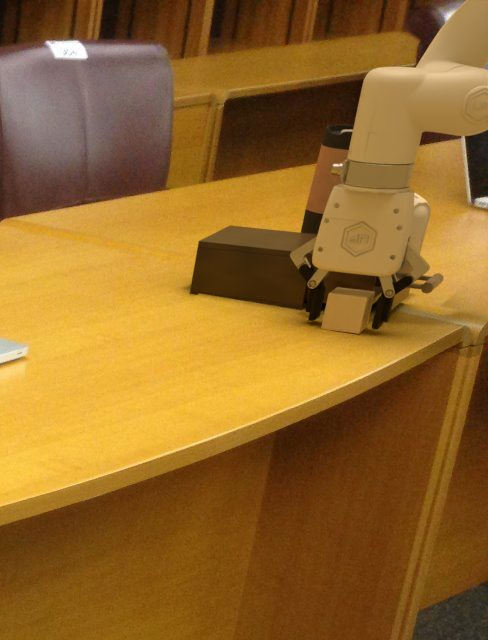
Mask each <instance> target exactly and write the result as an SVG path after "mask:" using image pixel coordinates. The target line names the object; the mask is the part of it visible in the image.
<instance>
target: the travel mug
mask: <svg viewBox="0 0 488 640" xmlns="http://www.w3.org/2000/svg"><path fill="white" fill-rule="evenodd" d="M353 128H354V124H329V125H326V127H325V130H324V133H323V137H322V141H321V145H320V149H319V154H318V157H317V161H316V166H315V169H314V173H313V178H312V181H311V185H310V189H309V192H308V193H309V194H308V198H307V201H306V205H305V210H304V214H303V218H302V225H301V229H300V233H309V234H318V231H319V228H320V224H321V221H322V217H323V214H324V211H325V208H326V205H327V202H328V199H329V197H330V194H331V192H332V189H333V187H334V186H336V185H339V184H342V182H341V178H340V176H337V175H334V174H331V170H332V166H333V164H334V163H339V164H340V163H343V162H344V161H345V160H346V159H347V157H348V152H349V147H350V142H351V137H352V133H353Z"/></svg>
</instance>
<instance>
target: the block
mask: <svg viewBox="0 0 488 640" xmlns="http://www.w3.org/2000/svg"><path fill="white" fill-rule="evenodd" d="M374 294H375V292H374V291H366V290H358V289H349V288H341V287H337V288H335V289H334V290H333V291H331V292H330V293H329V294H328V299H327V303H325V308H324V313H323V316H322V317H323V318H322V323H321V327H320V329H321V330H327V331H334V332H341V333H342V332H343V333H350V334H356V335H359V334H361V333H362V332H363V331H364V330H366V329H367V328H368V324H369V320H370V315H371V311H372V306H373V305H372V303H373V298H374Z"/></svg>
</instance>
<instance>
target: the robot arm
mask: <svg viewBox="0 0 488 640" xmlns="http://www.w3.org/2000/svg"><path fill="white" fill-rule="evenodd" d="M487 64H488V0H465V1H464V2H463V3H462V4H461V5H460V6H459V7H458V8H457V9H456V10H455V11H454V12H453V13H452V15H450V17H449V18H448V19H447V20H446V21H445V22H444V24H443V25H442V27H440V28H439V30H438V32H437V34H436V35H435V36H434V37H433V39H432V41H431V42H430V44H429V45H428V47H427V49H426V50H425V52H424V53H423V54H422V56H421V58H420V60H419V61H418V62H417V64H416V66H415V67H412V66H382V67H381V66H379V67H376V68H373V69H371V70H369V71H368V73H366V75H365V77H364V79H363V82H362V86H361V90H360V95H359V100H358V104H357V110H356V114H355V117H354V124H353V125H354V128H353V133H352V137H351V142H350V147H349V152H348V157H347V159H346V160H345V161H344V162H343V163H340V164H339V163H334V164H333V166H332V170H331V174H334V175H337V176H340V178H341V182H342V184H339V185H336V186H334V187H333V189H332V192H331V194H330V197H329V199H328V202H327V205H326V208H325V211H324V214H323V217H322V221H321V224H320V228H319V231H318V235H317V236H316V237H315V238H313V239H312V240H310V241H308V242H307V243H305V244H304V245H302V246H300V247H299V248H297V249H296V250H294V251H292V252H291V253H290V257H291V259H292V261H293V262H294V264H295V265H296V267H297V268H298V269H299V273H300V274H301V275H302V277H303V278H304V279H305V281H306V282H307V283H308V287H309V288H310V291H309V296H308V301H307V305H306V307H305V313H309V314H308V319H307V320H308V321H310V322H313V321H316V320H317V319H318V318H320V316H321V313H322V308H323V304H324V303H323V299H324V294H325V290H326V287H325V285H324V280H325V278H326V277H327V276H328V275H329V273H330V272H331V271H336V272H344V273H353V274H362V275H371V276H379V279H380V282H381V285H382V289H383V292H382V295H381V296H380V297H379V298H378V300H377V301H376V306H375V310H374V315H373V319H372V323H371V329H372V330H379V329H380V328H381V327H382V326H383V324H384V323H388V322H389V320H390V317H391V312H392V310H391V308H392V304H393V300H394V295H396V294H397V293H399V292H400V291H402V290H403V289H405V288H406V287H408V286H409V285H411V284H412V283H416V281H418V280H417V279H418V278H420V277H421V276H422V275H425V274H427V273H428V272H429V271H430V269H431V265H430V264H429V263H428V262H427V261H426V259H425V258H424V257H423V256H422V255H421V253H420V254H419V253H418V252H417V251H416V250H415V248H414V247H413V246H412V245H411V244H410V243H409V242H410V235H411V229H412V221H413V213H414V193H415V190H414V189H411V188H410V186H411V183H412V178H413V174H414V170H415V165H416V162H417V158H418V152H419V148H420V143H421V139H422V137H423V133H425V132H427V133H428V132H430V133H438V134H443V135H449V136H450V135H451V136H457V137H458V136H459V137H469V136H475V135H478V134H482V133H484V132H487V131H488V69H487V68H485V67H486V65H487ZM312 250H314V251H313V256H312V263H313V265H314V266H315V267H317V268H318V270H317V271H316V270H315V269H314V268H313V266H312V265H311V264H310V263H309V262H308V260H307V258H306V255H307V254H308V253H309V252H310V251H312ZM405 260H407V261H408V262H409V263H410V264H411V266H412V267H413V269H412V271H411V272H410V273H409V274H407V275H406V276H404V277H403V278H401V279H400V280H398V281H397V278H396V275H395V273H396V272H397V271H398V270H399V269H401V268H402V267H403V266H404V263H405Z"/></svg>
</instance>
